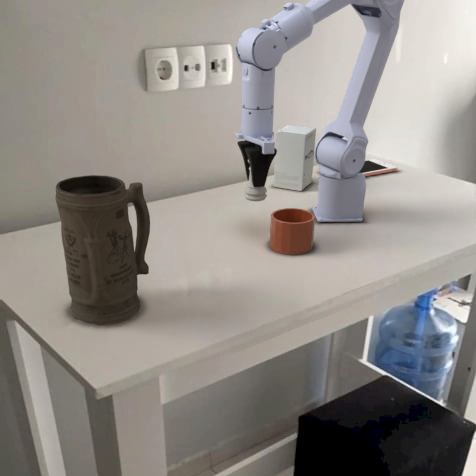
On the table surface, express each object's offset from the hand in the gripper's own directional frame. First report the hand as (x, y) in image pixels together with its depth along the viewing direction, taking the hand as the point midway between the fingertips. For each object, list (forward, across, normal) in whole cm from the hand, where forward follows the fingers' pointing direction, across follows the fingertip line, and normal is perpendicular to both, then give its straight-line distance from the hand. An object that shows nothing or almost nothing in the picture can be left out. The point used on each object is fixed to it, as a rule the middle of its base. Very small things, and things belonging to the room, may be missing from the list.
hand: (255, 183), depth 121 cm
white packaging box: (+10, -27, +18) cm, 33 cm away
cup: (+10, +8, +5) cm, 14 cm away
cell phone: (+10, -32, +37) cm, 51 cm away
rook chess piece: (+3, 0, 0) cm, 3 cm away
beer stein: (+10, +23, -30) cm, 39 cm away
